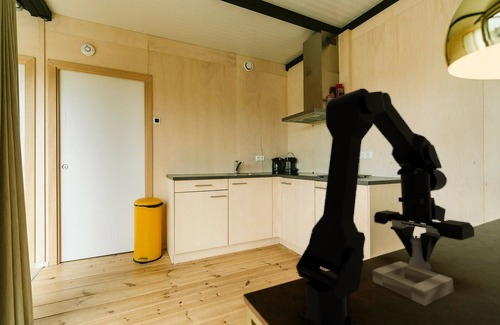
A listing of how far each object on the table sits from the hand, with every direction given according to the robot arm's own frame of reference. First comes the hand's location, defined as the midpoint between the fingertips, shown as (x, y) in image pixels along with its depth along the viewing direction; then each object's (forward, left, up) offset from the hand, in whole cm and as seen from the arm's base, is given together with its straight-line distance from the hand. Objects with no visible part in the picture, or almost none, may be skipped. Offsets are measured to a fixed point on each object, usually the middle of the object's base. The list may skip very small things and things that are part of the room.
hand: (419, 259), depth 53 cm
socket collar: (-9, -3, -3) cm, 10 cm away
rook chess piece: (0, 0, -3) cm, 3 cm away
